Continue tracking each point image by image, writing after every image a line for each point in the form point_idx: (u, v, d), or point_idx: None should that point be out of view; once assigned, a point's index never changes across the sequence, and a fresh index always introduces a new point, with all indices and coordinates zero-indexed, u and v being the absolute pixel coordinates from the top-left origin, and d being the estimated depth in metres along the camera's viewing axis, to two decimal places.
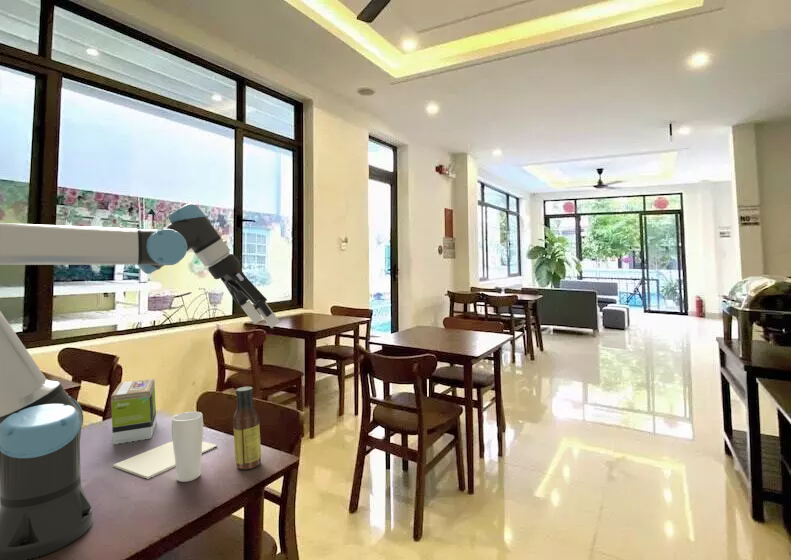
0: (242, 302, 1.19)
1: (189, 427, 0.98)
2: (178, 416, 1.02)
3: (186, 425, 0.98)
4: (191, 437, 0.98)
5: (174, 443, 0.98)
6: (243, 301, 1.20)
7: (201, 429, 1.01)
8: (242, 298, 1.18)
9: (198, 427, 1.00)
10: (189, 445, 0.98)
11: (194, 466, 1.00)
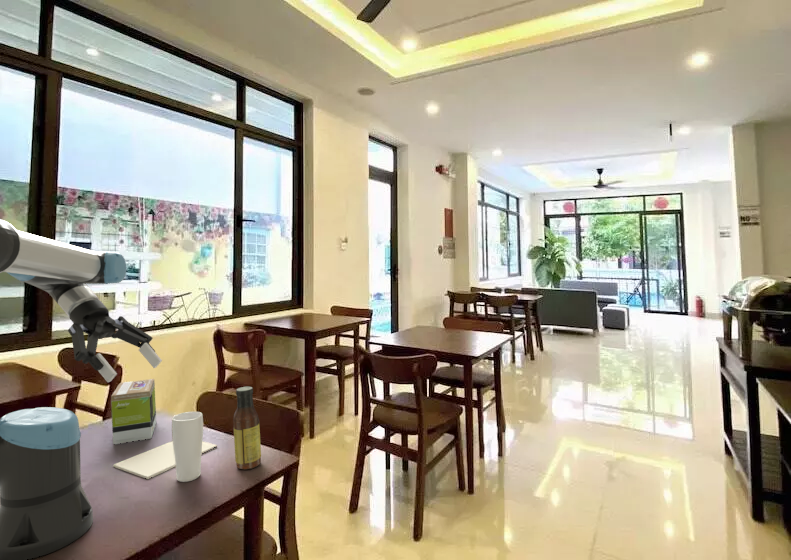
0: None
1: (189, 427, 0.98)
2: (178, 416, 1.02)
3: (186, 425, 0.98)
4: (191, 437, 0.98)
5: (174, 443, 0.98)
6: None
7: (201, 429, 1.01)
8: None
9: (198, 427, 1.00)
10: (189, 445, 0.98)
11: (194, 466, 1.00)
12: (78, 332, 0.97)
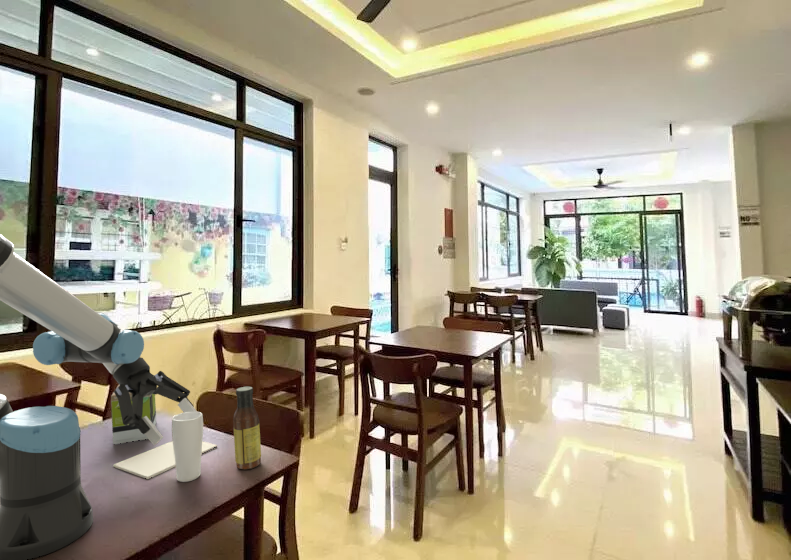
0: None
1: (189, 427, 0.98)
2: (178, 416, 1.02)
3: (186, 425, 0.98)
4: (191, 437, 0.98)
5: (174, 443, 0.98)
6: None
7: (201, 429, 1.01)
8: None
9: (198, 427, 1.00)
10: (189, 445, 0.98)
11: (194, 466, 1.00)
12: (125, 395, 0.99)
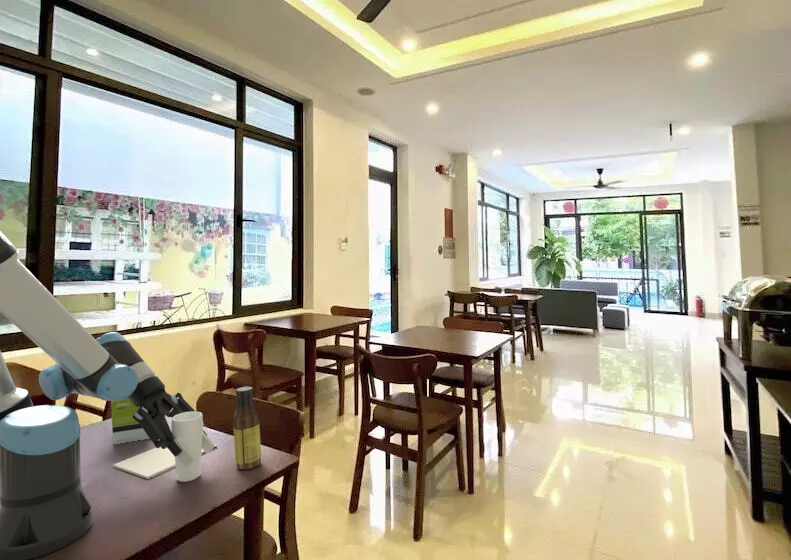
0: None
1: (189, 427, 0.98)
2: (178, 416, 1.02)
3: (186, 425, 0.98)
4: (191, 437, 0.98)
5: None
6: None
7: (201, 429, 1.01)
8: None
9: (198, 427, 1.00)
10: (189, 445, 0.98)
11: (194, 466, 1.00)
12: (147, 419, 0.96)
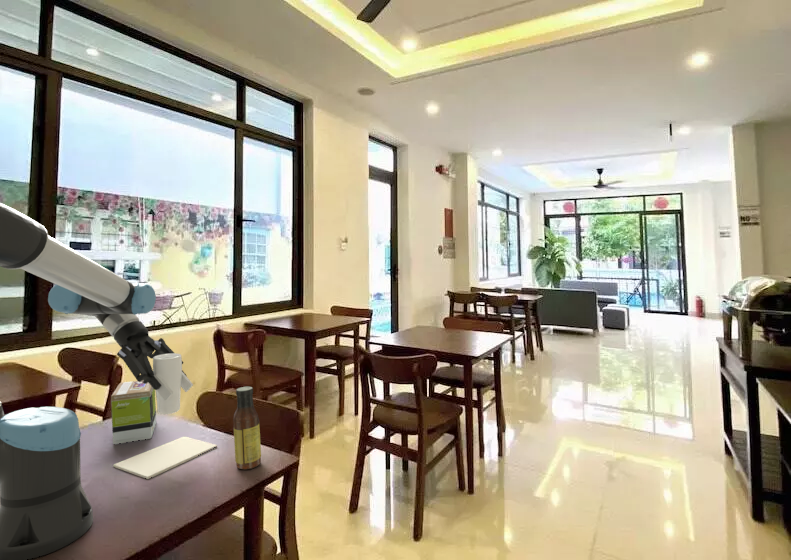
0: None
1: (168, 365, 1.08)
2: (160, 356, 1.12)
3: (165, 362, 1.08)
4: (170, 374, 1.09)
5: None
6: None
7: (180, 368, 1.11)
8: None
9: (177, 366, 1.10)
10: (168, 381, 1.09)
11: (173, 401, 1.10)
12: (130, 356, 1.06)
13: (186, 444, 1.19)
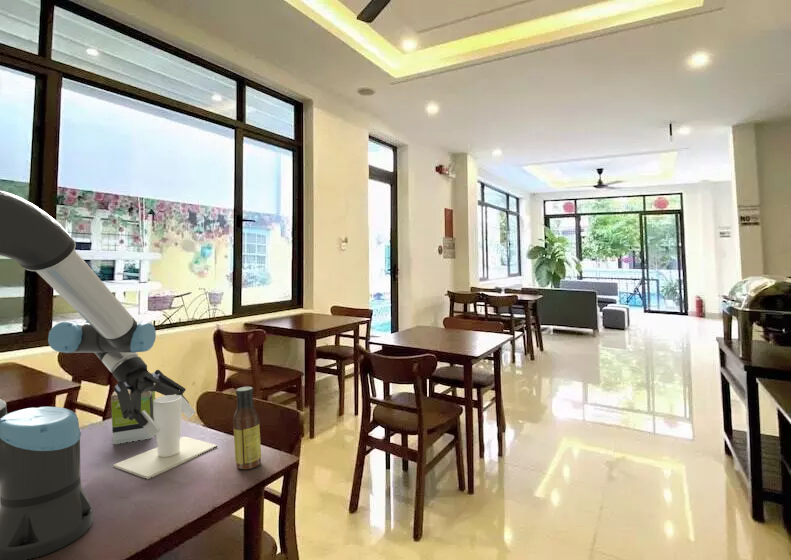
0: None
1: (168, 408, 1.10)
2: (160, 398, 1.14)
3: (166, 406, 1.09)
4: (170, 417, 1.10)
5: (155, 422, 1.10)
6: None
7: (180, 410, 1.12)
8: None
9: (177, 408, 1.11)
10: (169, 424, 1.10)
11: (173, 443, 1.11)
12: (124, 391, 1.06)
13: (186, 444, 1.19)
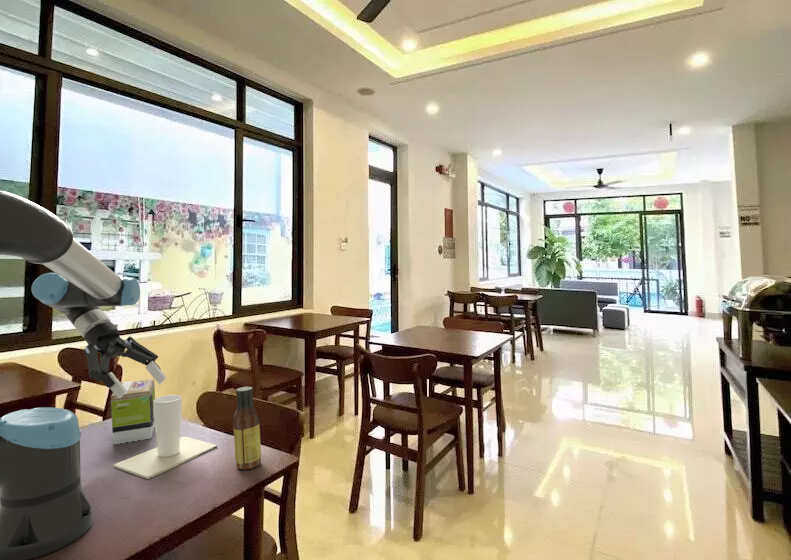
0: None
1: (168, 408, 1.10)
2: (160, 398, 1.14)
3: (166, 406, 1.09)
4: (171, 417, 1.10)
5: (155, 422, 1.10)
6: None
7: (180, 410, 1.13)
8: None
9: (177, 408, 1.11)
10: (169, 424, 1.10)
11: (173, 443, 1.11)
12: (92, 352, 1.08)
13: (186, 444, 1.19)
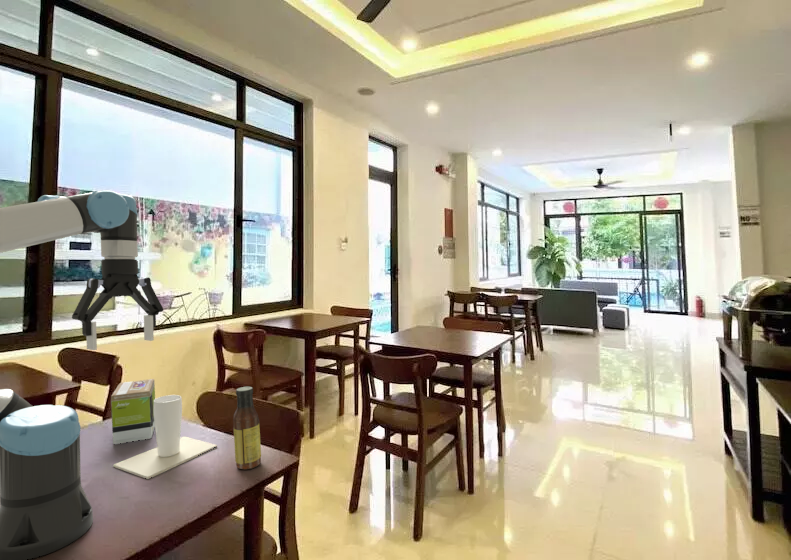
0: None
1: (168, 408, 1.10)
2: (160, 398, 1.14)
3: (166, 406, 1.09)
4: (171, 417, 1.10)
5: (155, 422, 1.10)
6: None
7: (180, 410, 1.13)
8: None
9: (177, 408, 1.11)
10: (169, 424, 1.10)
11: (173, 443, 1.11)
12: (91, 292, 0.96)
13: (186, 444, 1.19)
